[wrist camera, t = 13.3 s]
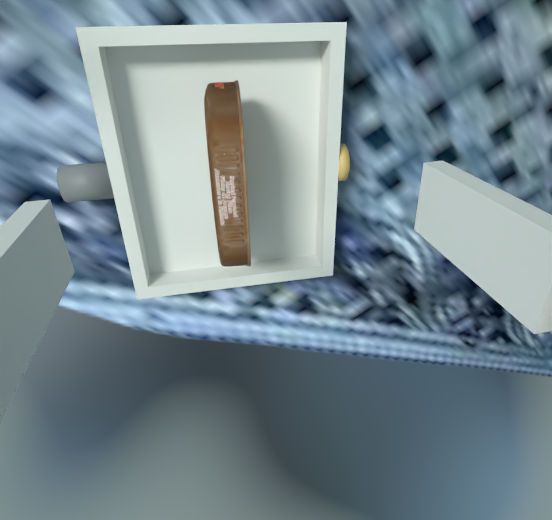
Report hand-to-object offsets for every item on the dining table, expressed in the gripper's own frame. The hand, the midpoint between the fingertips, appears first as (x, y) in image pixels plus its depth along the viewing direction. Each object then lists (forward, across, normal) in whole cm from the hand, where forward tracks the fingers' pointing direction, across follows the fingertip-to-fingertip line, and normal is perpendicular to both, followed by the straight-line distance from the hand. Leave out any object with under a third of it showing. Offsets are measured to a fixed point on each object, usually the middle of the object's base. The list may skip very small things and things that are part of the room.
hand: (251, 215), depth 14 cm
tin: (+23, 0, -5) cm, 23 cm away
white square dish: (+24, -1, -5) cm, 24 cm away
